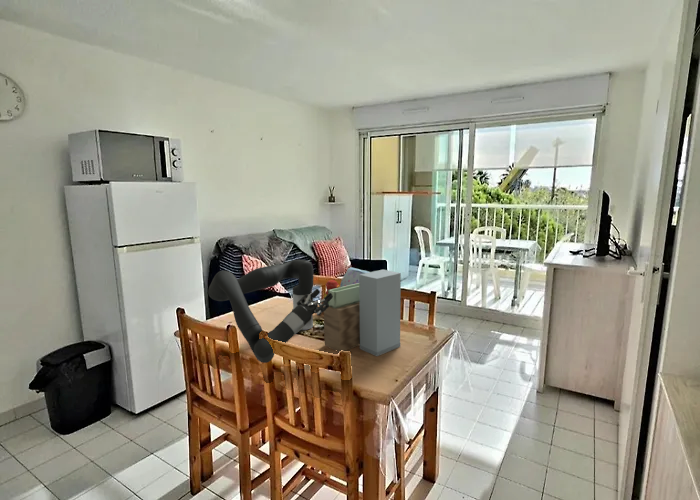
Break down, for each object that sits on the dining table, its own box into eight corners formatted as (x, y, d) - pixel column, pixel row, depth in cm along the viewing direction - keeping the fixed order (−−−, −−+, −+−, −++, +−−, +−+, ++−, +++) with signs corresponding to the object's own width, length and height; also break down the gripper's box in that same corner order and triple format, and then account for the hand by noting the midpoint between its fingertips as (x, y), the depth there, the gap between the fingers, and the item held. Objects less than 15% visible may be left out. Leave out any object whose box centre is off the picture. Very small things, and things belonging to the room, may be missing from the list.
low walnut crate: (339, 352, 158) (338, 310, 155) (324, 345, 166) (323, 305, 163) (378, 337, 173) (378, 299, 170) (363, 331, 181) (363, 294, 178)
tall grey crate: (376, 356, 154) (376, 278, 149) (359, 348, 162) (358, 274, 156) (400, 346, 163) (401, 273, 158) (383, 339, 171) (383, 269, 166)
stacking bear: (335, 316, 203) (334, 283, 200) (319, 313, 208) (318, 281, 205) (346, 310, 212) (345, 279, 209) (331, 307, 217) (330, 277, 214)
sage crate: (335, 308, 158) (334, 292, 157) (328, 306, 161) (328, 290, 160) (373, 298, 172) (373, 282, 171) (366, 296, 175) (366, 281, 174)
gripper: (291, 321, 155) (318, 295, 162) (311, 331, 144) (340, 303, 152) (282, 308, 151) (310, 282, 159) (302, 317, 141) (332, 288, 148)
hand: (325, 292), depth 155 cm, fingers open, 8 cm apart
